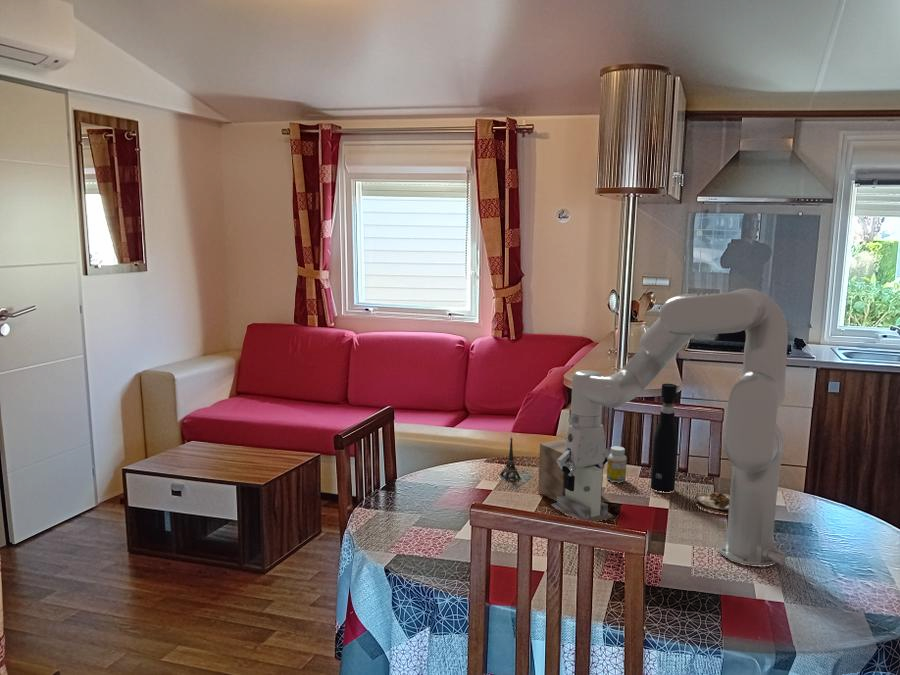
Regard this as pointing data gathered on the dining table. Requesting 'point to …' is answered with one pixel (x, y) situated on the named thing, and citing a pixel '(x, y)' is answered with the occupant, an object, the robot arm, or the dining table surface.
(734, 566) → the dining table surface
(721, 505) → the plate of food
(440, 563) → the dining table surface
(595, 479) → the door panel
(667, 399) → the black water bottle
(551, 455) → the cabinet
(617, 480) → the supplement bottle
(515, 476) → the eiffel tower figurine
